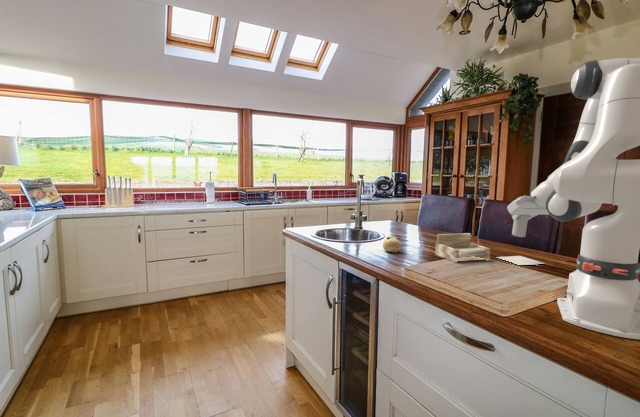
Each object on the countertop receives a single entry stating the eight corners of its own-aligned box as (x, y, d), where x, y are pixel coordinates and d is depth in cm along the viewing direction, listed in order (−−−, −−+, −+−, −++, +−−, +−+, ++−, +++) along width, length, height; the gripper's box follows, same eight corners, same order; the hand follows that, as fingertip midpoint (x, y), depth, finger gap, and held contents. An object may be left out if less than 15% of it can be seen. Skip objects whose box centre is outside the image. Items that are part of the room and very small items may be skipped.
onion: (394, 249, 152) (395, 234, 152) (404, 253, 145) (405, 237, 144) (379, 250, 150) (380, 235, 149) (388, 254, 142) (389, 238, 142)
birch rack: (489, 260, 134) (491, 239, 133) (455, 262, 131) (456, 240, 130) (466, 252, 148) (467, 232, 147) (435, 254, 144) (436, 233, 143)
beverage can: (510, 235, 134) (514, 206, 132) (513, 233, 137) (517, 205, 135) (523, 238, 131) (528, 208, 129) (526, 236, 134) (531, 207, 132)
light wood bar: (484, 260, 134) (485, 249, 134) (458, 262, 131) (459, 251, 131) (477, 258, 138) (478, 247, 138) (451, 259, 135) (452, 248, 135)
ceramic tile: (545, 264, 129) (545, 263, 129) (519, 266, 126) (519, 265, 126) (520, 257, 141) (520, 255, 141) (496, 258, 138) (496, 257, 138)
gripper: (527, 203, 118) (502, 225, 129) (571, 203, 123) (544, 224, 134) (518, 189, 122) (495, 212, 132) (561, 190, 127) (535, 212, 138)
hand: (520, 218), depth 133 cm, fingers closed on beverage can, 5 cm apart
